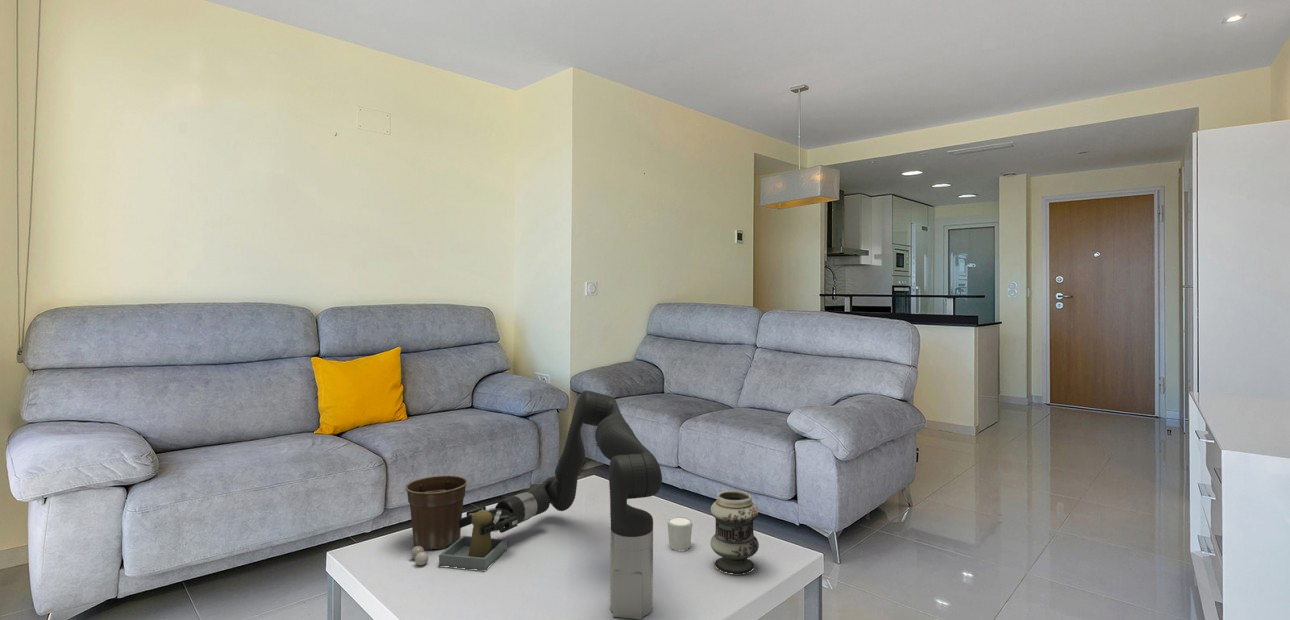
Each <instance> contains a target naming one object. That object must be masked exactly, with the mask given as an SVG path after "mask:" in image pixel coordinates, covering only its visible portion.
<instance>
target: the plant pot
mask: <svg viewBox="0 0 1290 620" xmlns="http://www.w3.org/2000/svg"><path fill="white" fill-rule="evenodd" d="M467 486H468V480H467V478H465V477H462V476H457V475H434V476H426V477H423V478H419V479H415V480H413V481H411V482H408V483H407V484H406V485H405V487H404V488H405V491H406V494H407V501H408V503H409V508H410V509H409V510H410V511H409V512H410V518H411V519H410V520H411V530H412V539H413V540H412V543H413V546H414V547H416V546H421V547H423V549H427V550H426V551H433V550H432V549H437V550H441V548H442V549H447V548H448V547H450V546H451V545H452V544H453V543H455V542H456V541H457V540H458V539H460V538H461V531H462V528H459V527H458V520H459V519H461V518H463V508H464V498H465V496H466V490H467Z"/></svg>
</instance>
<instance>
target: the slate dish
mask: <svg viewBox="0 0 1290 620" xmlns="http://www.w3.org/2000/svg"><path fill="white" fill-rule="evenodd" d="M471 537H472V535H471V536H470V535H462V536H460V539H458V540H457V541H456V542H455V543H453V544H450V545H449V546H448V547H446V548H445V549H444V550H443V551H442V552H441V553H440V554H438V567H439V566H449V567H457V568H465V569H477V570H486V569H487V568H488V567H489V566H490V565H491V564H492V563H493V562H494V563H495V562H496V561H498V559H499V558H500V557H502V556H503V555H504V554H505V553H506V552H507V539H506V538H505V539H504V538H496V537H491V544H492V551H491V552H490V553H489V554H488V555H486V556H485V557H484V558H480V557H470V556H468V555H469V549H470V543H471ZM505 551H506V552H505ZM504 552H505V553H504ZM503 553H504V554H503ZM494 563H493V564H494ZM493 564H492V565H493ZM492 565H491V566H492ZM491 566H490V567H491ZM490 567H489V568H490ZM489 568H488V569H489ZM465 569H464V570H465ZM488 569H487V570H488ZM487 570H486V571H487Z"/></svg>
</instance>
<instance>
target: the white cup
mask: <svg viewBox="0 0 1290 620" xmlns="http://www.w3.org/2000/svg"><path fill="white" fill-rule="evenodd" d="M667 530H668V531H667V532H668V533H667V534H668V543H669V546H668V547H669V549H670V550H672V549H674V550H673V551H675V550H678V551H677V552H680V551H679V550H686V551H688V550H689V549H688V548H690V549H691V544H692V542H691V540H692V533H693V532H692V531H693V520H692V519H690V518H688V517H683V516H676V517H671V518H669V519H667ZM687 549H688V550H687Z"/></svg>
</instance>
